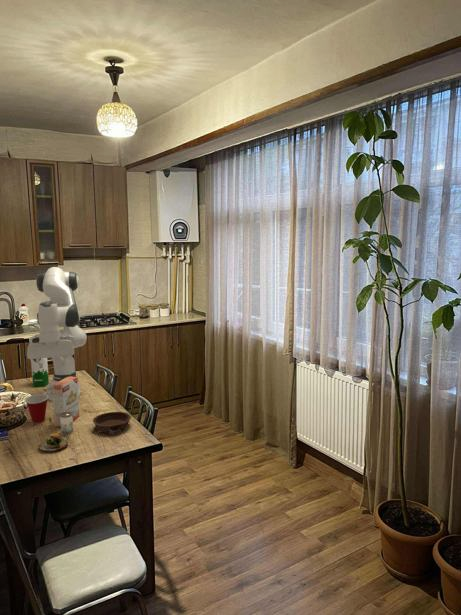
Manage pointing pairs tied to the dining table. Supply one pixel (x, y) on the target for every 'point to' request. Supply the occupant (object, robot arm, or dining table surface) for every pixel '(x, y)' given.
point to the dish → (112, 422)
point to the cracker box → (65, 398)
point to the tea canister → (66, 423)
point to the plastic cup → (37, 407)
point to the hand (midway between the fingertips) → (52, 366)
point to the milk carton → (39, 373)
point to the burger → (54, 443)
